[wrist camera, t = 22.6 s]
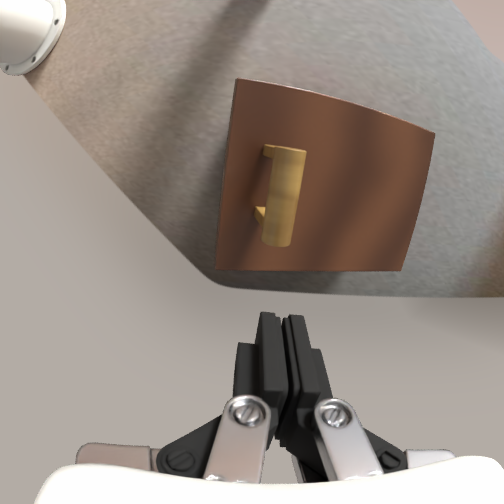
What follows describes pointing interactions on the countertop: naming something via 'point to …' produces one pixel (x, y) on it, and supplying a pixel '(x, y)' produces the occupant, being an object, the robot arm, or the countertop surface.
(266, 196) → the lid
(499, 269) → the countertop surface
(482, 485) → the robot arm
